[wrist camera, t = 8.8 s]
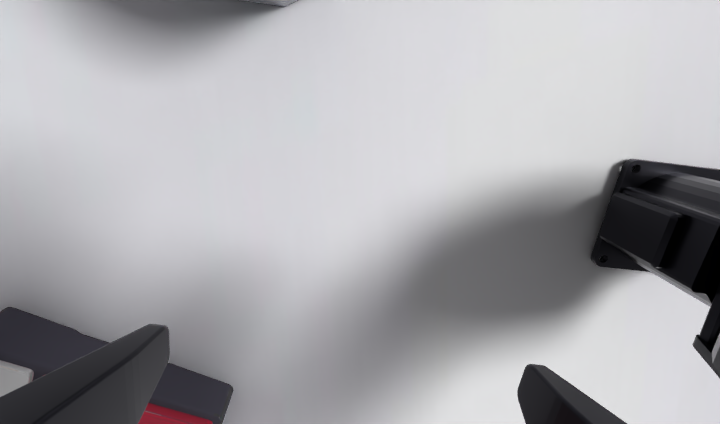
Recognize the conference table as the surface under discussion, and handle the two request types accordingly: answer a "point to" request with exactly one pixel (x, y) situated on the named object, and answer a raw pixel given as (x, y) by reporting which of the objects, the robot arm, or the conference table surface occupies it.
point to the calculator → (64, 345)
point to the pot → (273, 2)
